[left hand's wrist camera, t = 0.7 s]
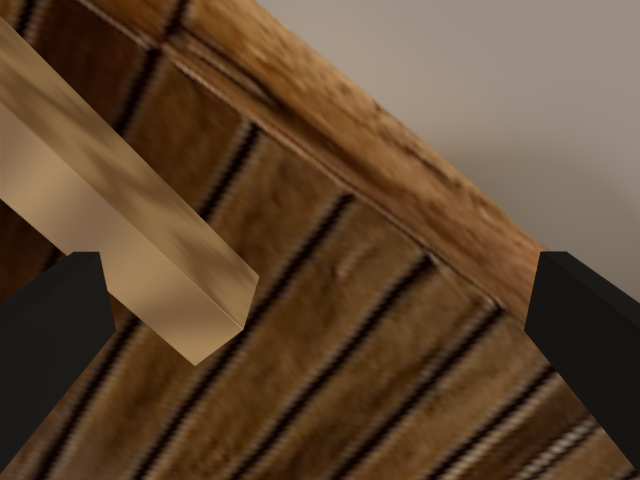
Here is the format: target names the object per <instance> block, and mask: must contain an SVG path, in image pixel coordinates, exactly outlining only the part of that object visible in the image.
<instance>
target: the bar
mask: <svg viewBox="0 0 640 480" xmlns="http://www.w3.org/2000/svg"><path fill="white" fill-rule="evenodd" d="M0 199H2V200H3V201H4V202H5V203H6V204H7V205H9V206H10V207H11V208H12V209H13V210H14V211H16V212H17V213H18V214H19V215H20V216H21V217H23V218H24V219H25V220H26V221H27V222H28V223H29V224H31V225H32V226H33V227H34V228H35V229H36V230H38V231H39V232H40V233H41V234H42V235H43V236H45V237H46V238H47V239H48V240H49V241H50V242H52V243H53V244H54V245H55V246H56V247H57V248H58V249H60V250H61V251H62V252H63V253H64V254H65V255H67V256H68V255H69V254H71V253H72V252H100V257H101V261H102V266H103V271H104V276H105V280H106V285H107V290H108V292H110V293H111V294H112V295H113V296H114V297H115V298H117V299H118V300H119V301H120V302H121V303H122V304H123V305H125V306H126V307H127V308H128V309H129V310H130V311H132V312H133V313H134V314H135V315H136V316H137V317H139V318H140V319H141V320H142V321H143V322H144V323H146V324H147V325H148V326H149V327H150V328H151V329H152V330H154V331H155V332H156V333H157V334H158V335H159V336H161V337H162V338H163V339H164V340H165V341H166V342H168V343H169V344H170V345H171V346H172V347H173V348H175V349H176V350H177V351H178V352H179V353H180V354H182V355H183V356H184V357H185V358H186V359H187V360H188V361H190V362H191V363H192V364H193V365H194V366H196V365H197V364H198V363H200V362H201V361H202V360H203V359H205V358H206V357H207V356H209V355H210V354H211V353H213V352H214V351H215V350H217V349H218V348H219V347H221V346H222V345H223V344H225V343H226V342H227V341H229V340H230V339H231V338H233V337H234V336H235V335H237V334H238V333H239V332H241V331H242V330H243V328H244V325H245V322H246V318H247V315H248V312H249V309H250V305H251V302H252V299H253V295H254V292H255V289H256V286H257V282H258V279H259V276H258V275H257V274H256V273H255V272H254V271H253V270H252V269H251V268H250V267H249V266H248V265H247V264H246V263H245V262H244V260H243V259H242V258H241V257H240V256H239V255H238V254H237V253H236V252H235V251H234V250H233V249H232V248H231V247H230V246H229V245H228V244H227V243H226V242H225V241H224V240H223V239H222V238H221V237H220V236H219V235H218V234H217V233H216V232H215V231H214V230H213V229H212V228H211V227H210V226H209V225H208V224H207V223H206V222H205V221H204V220H203V219H202V218H201V217H200V216H199V215H198V214H197V213H196V212H195V211H194V210H193V209H192V208H191V207H190V206H189V205H188V204H187V203H186V202H185V201H184V200H183V199H182V198H181V197H180V196H179V195H178V194H177V193H176V192H175V191H174V190H173V189H172V188H171V187H170V186H169V185H168V184H167V183H166V182H165V181H164V180H163V179H162V178H161V177H160V176H159V175H158V174H157V173H156V172H155V171H154V170H153V169H152V168H151V167H150V166H149V165H148V164H147V163H146V162H145V161H144V160H143V159H142V158H141V157H140V156H139V155H138V154H137V153H136V152H135V151H134V150H133V149H132V148H131V147H130V146H129V145H128V144H127V143H126V142H125V141H124V140H123V139H122V138H121V137H120V136H119V135H118V134H117V133H116V132H115V131H114V130H113V129H112V128H111V127H110V126H109V125H108V124H107V123H106V122H105V121H104V120H103V119H102V118H101V117H100V116H99V115H98V114H97V113H96V112H95V111H94V110H93V109H92V108H91V107H90V106H89V105H88V104H87V103H86V102H85V101H84V100H83V99H82V98H81V97H80V96H79V95H78V94H77V93H76V92H75V91H74V90H73V89H72V88H71V87H70V86H69V85H68V84H67V83H66V82H65V81H64V80H63V79H62V78H61V76H60V75H59V74H58V73H57V72H56V71H55V70H54V69H53V68H52V67H51V66H50V65H49V64H48V63H47V62H46V61H45V60H44V59H43V58H42V57H41V56H40V55H39V54H38V53H37V52H36V51H35V50H34V49H33V48H32V47H31V46H30V45H29V44H28V43H27V42H26V41H25V40H24V39H23V38H22V37H21V36H20V35H19V34H18V33H17V32H16V31H15V30H14V29H13V28H12V27H11V26H10V25H9V24H8V23H7V22H6V21H5V20H4V19H3V18H2V17H1V16H0Z"/></svg>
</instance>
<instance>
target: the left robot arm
mask: <svg viewBox="0 0 640 480" xmlns="http://www.w3.org/2000/svg"><path fill="white" fill-rule="evenodd" d="M115 331H116V328H115V323H114V318H113V314H112V309H111V304H110V299H109V295H108V290H107V285H106V280H105V276H104V271H103V266H102V261H101V257H100V252H72V253H71V254H69V255H68V256H67V257H65V258H64V259H62V260H61V261H60V262H58V263H57V264H55V265H54V266H52V267H51V268H50V269H48V270H47V271H45V272H44V273H43V274H41V275H40V276H38V277H37V278H35V279H34V280H33V281H31V282H30V283H28V284H27V285H26V286H24V287H23V288H21V289H20V290H18V291H17V292H16V293H14V294H13V295H11V296H10V297H9V298H7V299H6V300H4V301H3V302H1V303H0V474H1V472H2V471H3V470H4V469H5V467H6V466H7V465H8V464H9V463H10V461H11V460H12V459H13V458H14V456H15V455H16V454H17V453H18V451H19V450H20V449H21V448H22V446H23V445H24V444H25V443H26V441H27V440H28V439H29V438H30V436H31V435H32V434H33V433H34V432H35V430H36V429H37V428H38V427H39V425H40V424H41V423H42V422H43V420H44V419H45V418H46V417H47V415H48V414H49V413H50V412H51V410H52V409H53V408H54V407H55V405H56V404H57V403H58V402H59V401H60V399H61V398H62V397H63V396H64V394H65V393H66V392H67V391H68V389H69V388H70V387H71V386H72V384H73V383H74V382H75V381H76V379H77V378H78V377H79V376H80V374H81V373H82V372H83V371H84V370H85V368H86V367H87V366H88V365H89V363H90V362H91V361H92V360H93V358H94V357H95V356H96V355H97V353H98V352H99V351H100V350H101V348H102V347H103V346H104V345H105V343H106V342H107V341H108V340H109V339H110V337H111V336H112V335H113V334H114V332H115ZM524 331H525V332H526V334H527V335H528V336H529V337H530V339H531V340H532V341H533V342H534V343H535V345H536V346H537V347H538V348H539V350H540V351H541V352H542V353H543V355H544V356H545V357H546V358H547V360H548V361H549V362H550V363H551V365H552V366H553V367H554V368H555V370H556V371H557V372H558V373H559V374H560V376H561V377H562V378H563V379H564V381H565V382H566V383H567V384H568V386H569V387H570V388H571V389H572V391H573V392H574V393H575V394H576V396H577V397H578V398H579V399H580V401H581V402H582V403H583V404H584V405H585V407H586V408H587V409H588V410H589V412H590V413H591V414H592V415H593V417H594V418H595V419H596V420H597V422H598V423H599V424H600V425H601V427H602V428H603V429H604V430H605V432H606V433H607V434H608V435H609V436H610V438H611V439H612V440H613V441H614V443H615V444H616V445H617V446H618V448H619V449H620V450H621V451H622V453H623V454H624V455H625V456H626V458H627V459H628V460H629V461H630V463H631V464H632V465H633V466H634V467H635V469H636V470H637V471H638V472H639V474H640V303H639V302H637V301H636V300H634V299H633V298H631V297H630V296H629V295H627V294H626V293H624V292H623V291H621V290H620V289H619V288H617V287H616V286H614V285H613V284H612V283H610V282H609V281H607V280H606V279H605V278H603V277H602V276H600V275H599V274H597V273H596V272H595V271H593V270H592V269H590V268H589V267H587V266H586V265H585V264H583V263H582V262H580V261H579V260H578V259H576V258H575V257H573V256H572V255H571V254H569V253H568V252H540V257H539V261H538V266H537V271H536V276H535V280H534V285H533V290H532V295H531V299H530V304H529V309H528V314H527V318H526V323H525V328H524Z"/></svg>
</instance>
